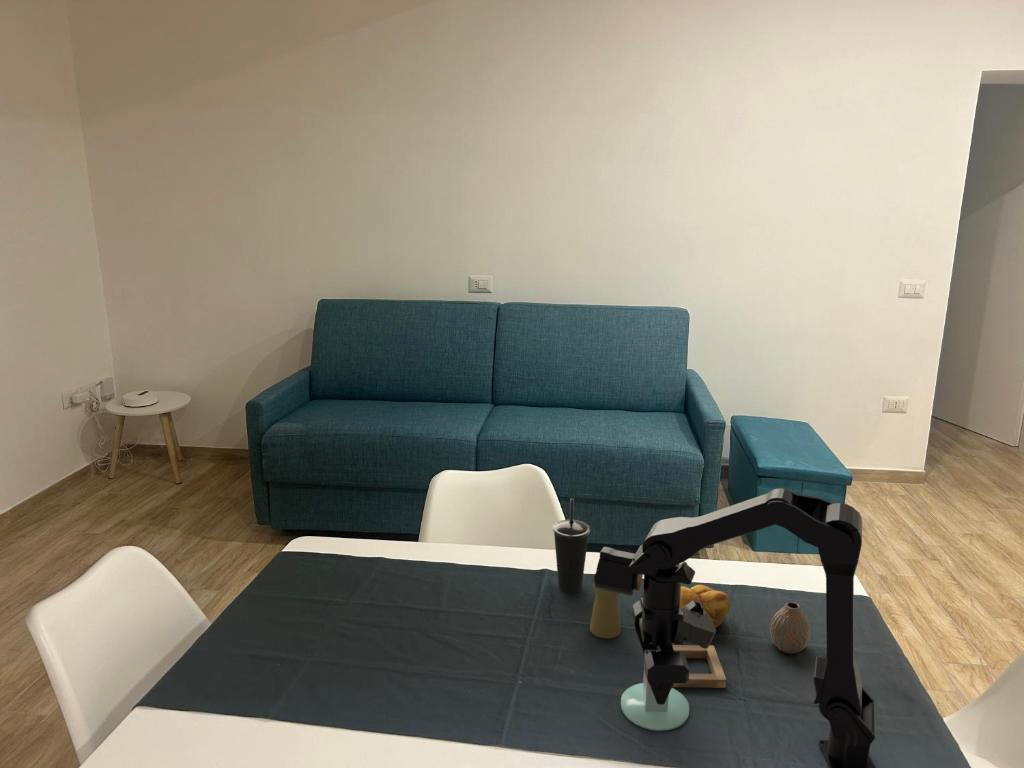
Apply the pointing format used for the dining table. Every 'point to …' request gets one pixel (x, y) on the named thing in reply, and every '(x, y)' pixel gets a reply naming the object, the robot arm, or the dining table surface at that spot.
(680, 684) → the walnut collar
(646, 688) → the steel bar
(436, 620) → the dining table surface
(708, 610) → the bread roll
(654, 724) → the teal coaster
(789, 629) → the vase
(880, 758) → the dining table surface
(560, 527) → the drinking cup
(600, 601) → the wooden pepper shaker
